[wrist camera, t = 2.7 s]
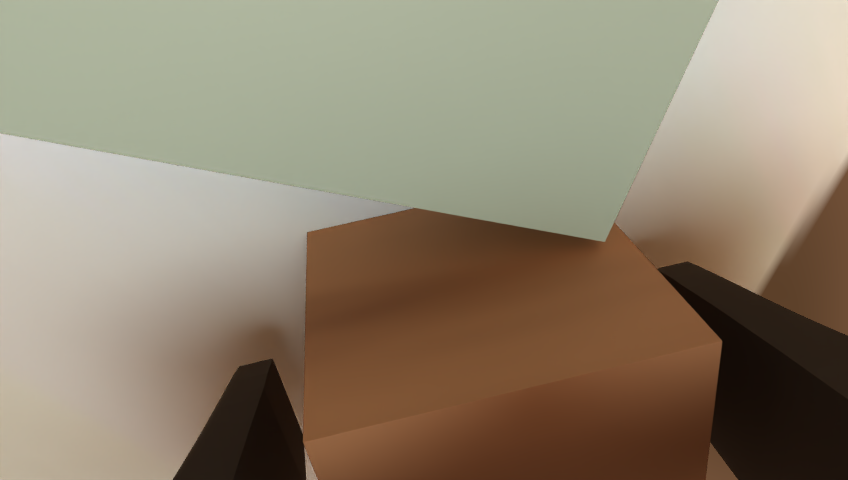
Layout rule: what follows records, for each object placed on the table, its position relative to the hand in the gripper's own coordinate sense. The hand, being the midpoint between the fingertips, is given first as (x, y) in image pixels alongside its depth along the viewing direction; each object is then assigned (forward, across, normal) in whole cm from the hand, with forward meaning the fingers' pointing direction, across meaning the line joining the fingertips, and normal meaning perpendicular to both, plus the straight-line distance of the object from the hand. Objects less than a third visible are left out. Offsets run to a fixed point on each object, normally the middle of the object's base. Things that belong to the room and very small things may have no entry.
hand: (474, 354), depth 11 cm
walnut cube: (+2, 0, 0) cm, 2 cm away
